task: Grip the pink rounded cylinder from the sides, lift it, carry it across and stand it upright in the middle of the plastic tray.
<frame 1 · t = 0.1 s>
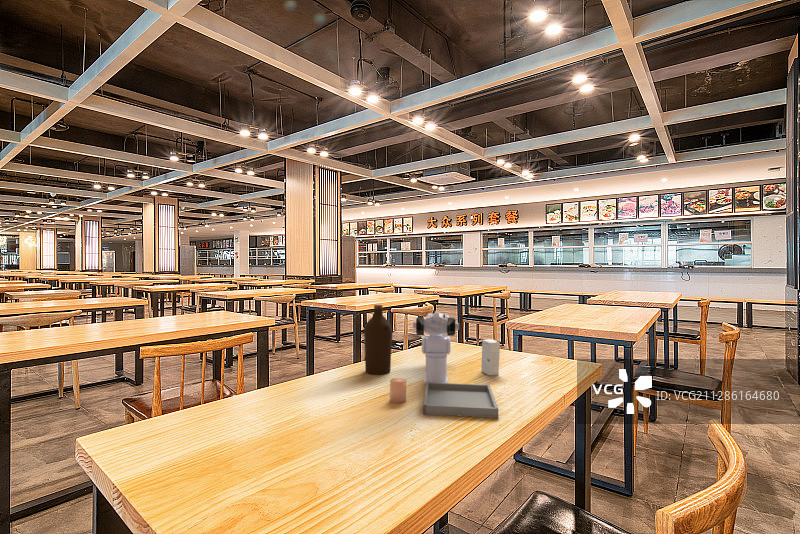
hand: (435, 328, 115), 22 cm above the table, tool horizontal, fingers open, 7 cm apart
pink rounded cylinder: (398, 400, 116), on the table
olive oil: (377, 371, 146), on the table
tray: (458, 402, 114), on the table
skincare box: (490, 373, 144), on the table
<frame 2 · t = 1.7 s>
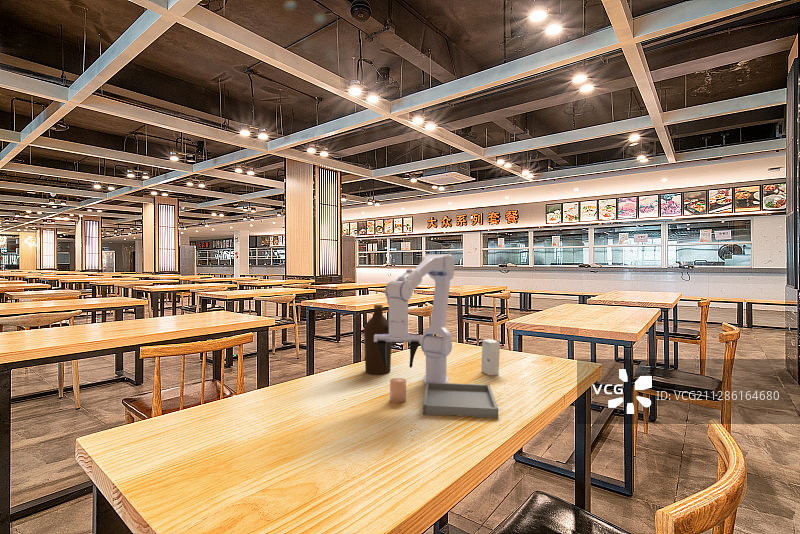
hand: (398, 366, 115), 10 cm above the table, tool pointing down, fingers open, 7 cm apart
nothing on the table moved.
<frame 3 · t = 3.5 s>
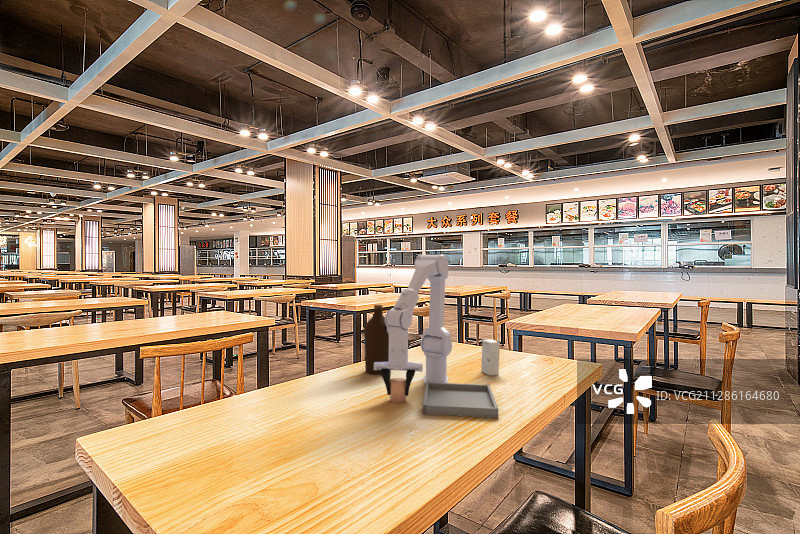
hand: (398, 394, 115), 2 cm above the table, tool pointing down, fingers closed on pink rounded cylinder, 5 cm apart
pink rounded cylinder: (398, 400, 116), on the table, touching gripper
everything else where it was.
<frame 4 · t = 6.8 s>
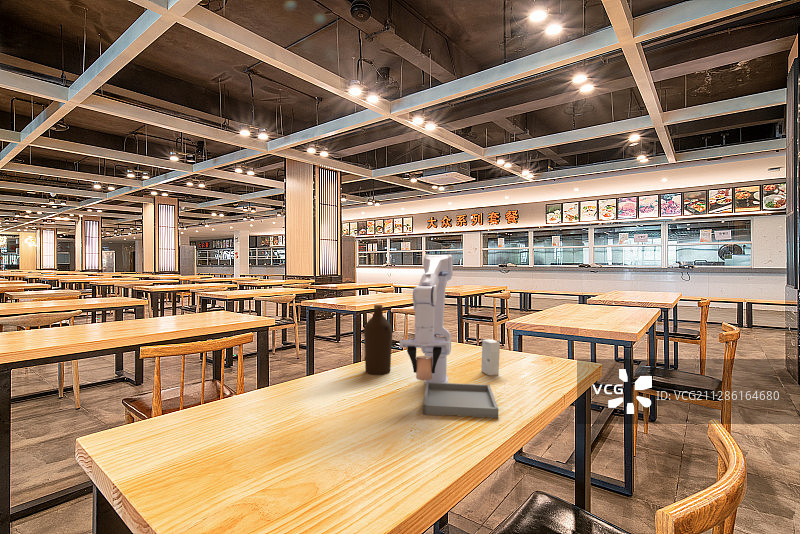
hand: (424, 372, 115), 9 cm above the table, tool pointing down, fingers closed on pink rounded cylinder, 5 cm apart
pink rounded cylinder: (424, 377, 115), point 7 cm above the table, touching gripper
everything else where it was.
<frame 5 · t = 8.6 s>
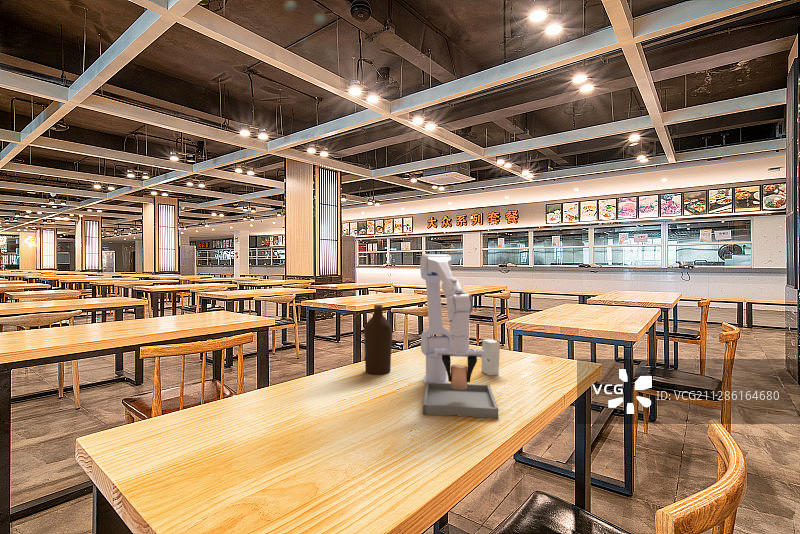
hand: (458, 381, 113), 6 cm above the table, tool pointing down, fingers closed on pink rounded cylinder, 5 cm apart
pink rounded cylinder: (458, 386, 113), point 5 cm above the table, touching gripper
everything else where it was.
when the fingers open (4 cm above the table, at t = 10.1 s): pink rounded cylinder drops 1 cm, resting on tray.
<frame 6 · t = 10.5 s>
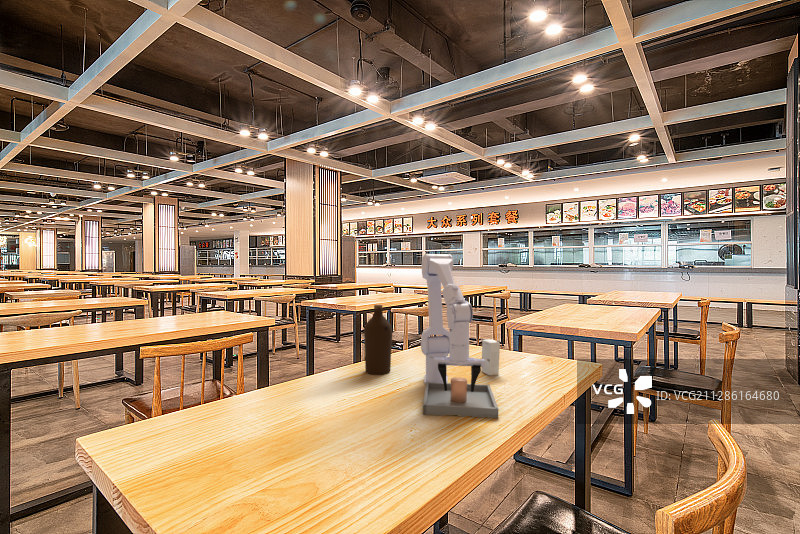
hand: (458, 390, 114), 4 cm above the table, tool pointing down, fingers open, 7 cm apart
pink rounded cylinder: (458, 400, 114), point 1 cm above the table, touching tray
everything else where it was.
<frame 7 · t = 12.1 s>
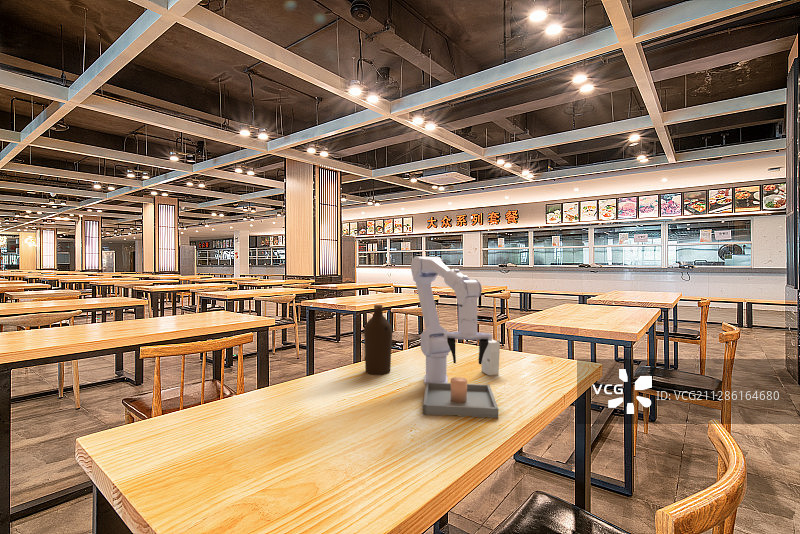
hand: (467, 363, 119), 10 cm above the table, tool pointing down, fingers open, 7 cm apart
nothing on the table moved.
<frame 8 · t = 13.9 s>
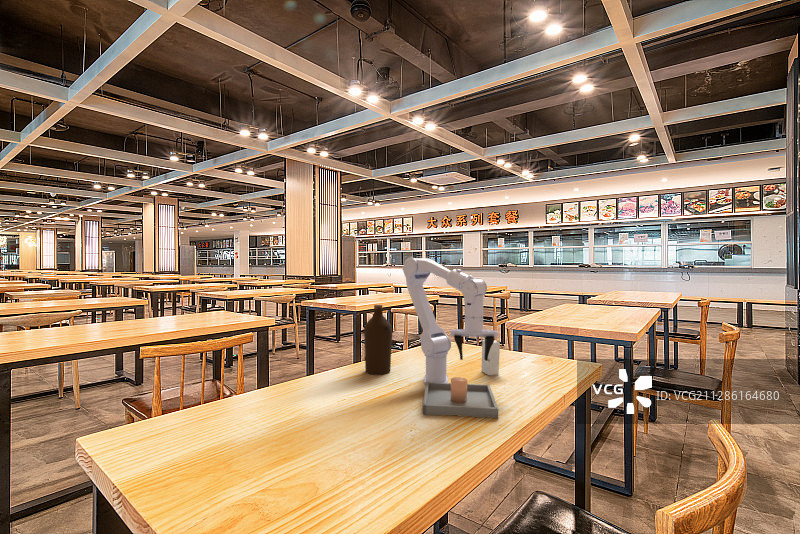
hand: (473, 359, 123), 10 cm above the table, tool pointing down, fingers open, 7 cm apart
nothing on the table moved.
at the end: pink rounded cylinder inside the target area on the tray (0.0 cm from its centre), point 0.8 cm above the tray's base; pink rounded cylinder tilted 0°; the gripper is holding nothing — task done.
